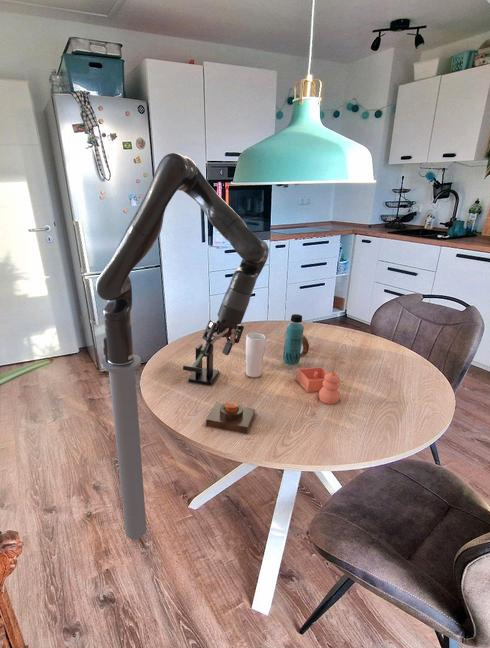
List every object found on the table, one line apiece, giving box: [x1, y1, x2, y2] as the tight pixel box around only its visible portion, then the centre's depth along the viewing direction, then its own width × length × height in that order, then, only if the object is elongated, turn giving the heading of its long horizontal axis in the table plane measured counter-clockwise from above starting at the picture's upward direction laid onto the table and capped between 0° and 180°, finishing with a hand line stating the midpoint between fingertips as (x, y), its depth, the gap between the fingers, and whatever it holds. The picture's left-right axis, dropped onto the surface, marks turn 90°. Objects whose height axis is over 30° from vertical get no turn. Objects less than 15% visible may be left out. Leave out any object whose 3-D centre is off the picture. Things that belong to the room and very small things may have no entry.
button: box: [224, 400, 239, 413], centre depth 111 cm, size 4×4×2 cm
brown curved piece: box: [284, 332, 310, 356], centre depth 159 cm, size 15×3×8 cm, turn 22°
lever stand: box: [188, 343, 220, 386], centre depth 134 cm, size 10×8×12 cm
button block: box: [205, 401, 256, 435], centre depth 112 cm, size 12×10×4 cm
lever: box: [182, 345, 207, 373], centre depth 128 cm, size 14×6×2 cm, turn 164°
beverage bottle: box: [282, 313, 305, 366], centre depth 144 cm, size 6×7×20 cm
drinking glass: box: [245, 332, 267, 378], centre depth 137 cm, size 7×7×15 cm
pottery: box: [295, 366, 341, 405], centre depth 129 cm, size 18×10×10 cm, turn 14°
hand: (215, 354), depth 119 cm, fingers open, 8 cm apart
